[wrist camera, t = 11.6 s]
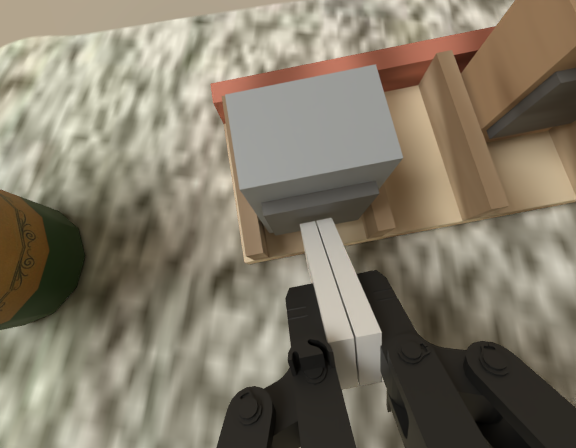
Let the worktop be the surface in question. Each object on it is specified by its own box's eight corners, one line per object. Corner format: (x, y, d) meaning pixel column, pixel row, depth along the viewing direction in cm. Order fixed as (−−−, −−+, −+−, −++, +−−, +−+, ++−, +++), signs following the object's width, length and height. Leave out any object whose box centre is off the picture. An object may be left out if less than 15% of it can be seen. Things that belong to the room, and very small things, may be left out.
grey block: (344, 161, 20) (375, 64, 11) (359, 225, 19) (407, 173, 10) (259, 178, 20) (224, 94, 11) (270, 242, 19) (242, 205, 10)
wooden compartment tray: (521, 58, 23) (572, 5, 18) (581, 200, 20) (658, 177, 16) (226, 117, 23) (208, 78, 19) (248, 264, 21) (233, 258, 16)
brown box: (526, 80, 20) (694, -74, 12) (551, 138, 19) (754, 17, 11) (443, 96, 21) (547, -44, 12) (463, 155, 20) (594, 48, 11)
